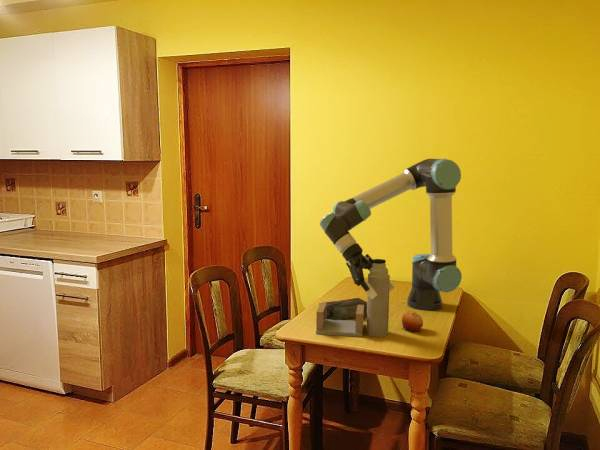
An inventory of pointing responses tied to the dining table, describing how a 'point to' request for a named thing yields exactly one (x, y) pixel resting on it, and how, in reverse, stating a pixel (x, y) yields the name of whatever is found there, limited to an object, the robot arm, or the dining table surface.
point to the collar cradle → (339, 323)
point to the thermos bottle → (378, 299)
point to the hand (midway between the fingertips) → (383, 293)
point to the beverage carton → (344, 308)
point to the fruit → (412, 321)
